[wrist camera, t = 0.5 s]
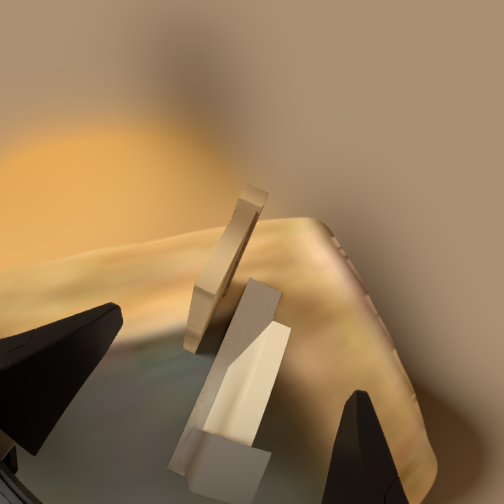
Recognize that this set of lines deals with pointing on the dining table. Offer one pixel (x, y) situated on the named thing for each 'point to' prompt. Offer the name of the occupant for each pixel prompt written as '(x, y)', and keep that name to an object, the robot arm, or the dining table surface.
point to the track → (230, 355)
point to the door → (236, 425)
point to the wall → (222, 265)
